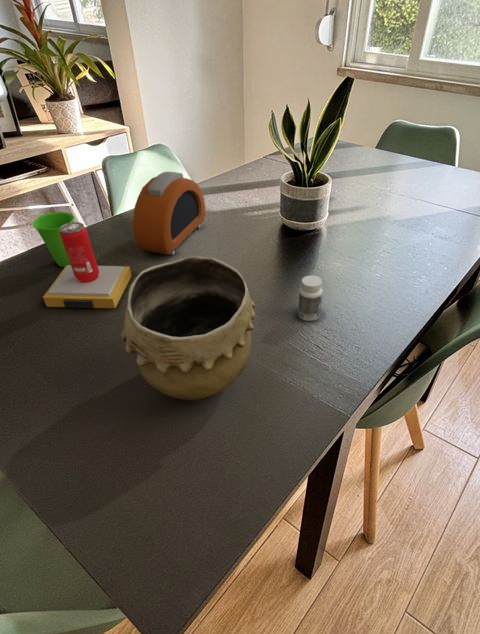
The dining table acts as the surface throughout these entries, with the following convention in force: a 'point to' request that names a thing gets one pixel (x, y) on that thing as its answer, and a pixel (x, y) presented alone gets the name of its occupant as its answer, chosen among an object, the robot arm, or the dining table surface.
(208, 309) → the clay pot
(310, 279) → the pill bottle
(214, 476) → the dining table surface
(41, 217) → the cup
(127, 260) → the dining table surface
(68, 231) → the beverage can
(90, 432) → the dining table surface
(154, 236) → the alarm clock
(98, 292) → the scale
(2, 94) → the robot arm
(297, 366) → the dining table surface
